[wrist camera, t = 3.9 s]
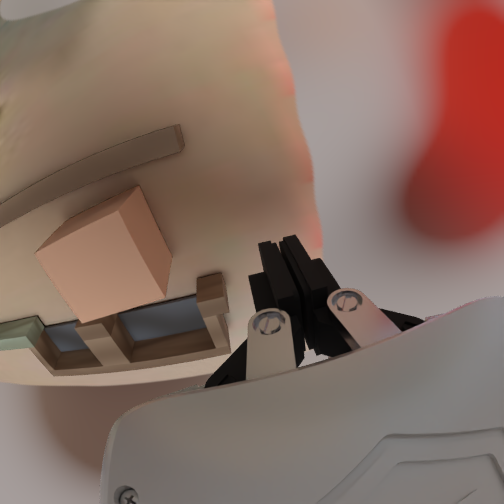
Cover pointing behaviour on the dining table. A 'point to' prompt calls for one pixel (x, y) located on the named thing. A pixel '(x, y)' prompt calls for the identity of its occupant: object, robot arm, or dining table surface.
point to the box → (127, 322)
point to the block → (108, 257)
